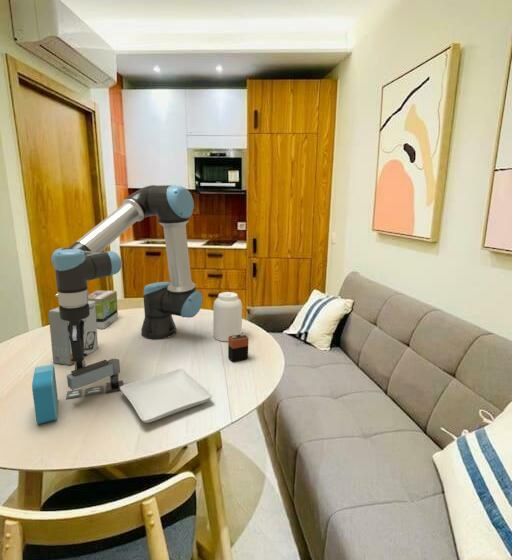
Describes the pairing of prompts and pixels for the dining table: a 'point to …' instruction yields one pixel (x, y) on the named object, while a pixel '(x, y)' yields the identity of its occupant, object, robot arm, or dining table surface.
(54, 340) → the hard drive box
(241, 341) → the battery
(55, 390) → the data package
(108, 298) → the tea box
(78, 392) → the label plate
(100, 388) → the label plate
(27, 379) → the dining table surface
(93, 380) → the swing arm
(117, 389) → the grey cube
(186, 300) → the robot arm
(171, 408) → the salad plate
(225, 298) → the white jar
